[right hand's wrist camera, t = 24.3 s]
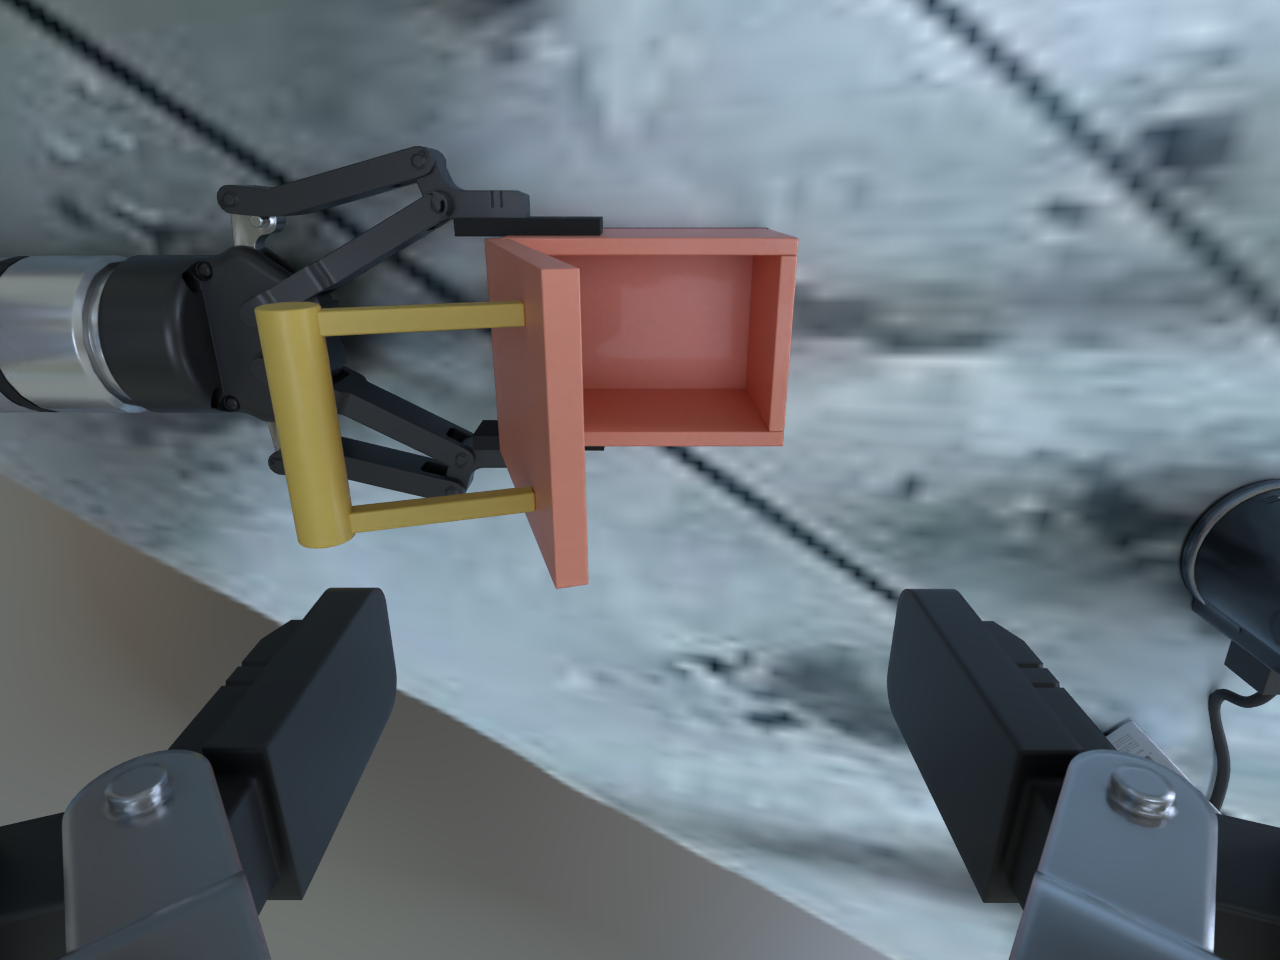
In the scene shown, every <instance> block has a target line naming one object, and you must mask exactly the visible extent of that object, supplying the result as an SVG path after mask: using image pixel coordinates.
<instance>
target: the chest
mask: <svg viewBox="0 0 1280 960" xmlns="http://www.w3.org/2000/svg"><path fill="white" fill-rule="evenodd" d="M502 238H508V239H511V240H513V241H516V242H518V243H520V244H523V245H525V246H527V247H530V248H532V249H534V250H537V251H539V252H541V253H544V254H546V255H549V256H551V257H553V258H556V259H558V260H560V261H563V262H565V263H567V264H570V265H572V266H574V267H577V268H579V270H580V304H581V339H582V374H583V409H584V444H585V446H783V439H784V432H783V431H784V425H785V412H786V398H787V385H788V372H789V359H790V346H791V332H792V319H793V306H794V293H795V280H796V266H797V256H796V255H797V253H798V238H796V237H793V236H789V235H786V234H783V233H779V232H776V231H773V230H769V229H768V228H603V233H602V234H601V235H600V236H505V237H502ZM500 239H501V238H500Z"/></svg>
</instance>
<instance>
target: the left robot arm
mask: <svg viewBox="0 0 1280 960" xmlns="http://www.w3.org/2000/svg"><path fill="white" fill-rule="evenodd" d="M414 183H417V184H418V186H419V188H420V191H421V193H422V195H423V197H422V198H420V199H419V200H417V201H415V202H414V203H412V204H410V205H409V206H407V207H405V208H404V209H402V210H400V211H399V212H397V213H396V214H394V215H392V216H391V217H389V218H387V219H386V220H384V221H382V222H381V223H379V224H377V225H376V226H374V227H373V228H371V229H369V230H368V231H366V232H364V233H363V234H361V235H359V236H358V237H356V238H354V239H353V240H351V241H350V242H348V243H346V244H345V245H343V246H341V247H340V248H338V249H336V250H335V251H333V252H331V253H330V254H328V255H327V256H325V257H323V258H322V259H320V260H318V261H316V262H314V263H312V264H310V265H308V266H306V267H304V268H302V269H301V270H299V269H297V268H296V267H294V266H293V265H291V264H290V263H288V262H287V261H285V260H284V259H282V258H281V257H279V256H278V255H276V254H275V253H273V252H272V251H271V250H269V249H267V248H266V247H265V240H266V238H267V237H268V236H269V235H270V234H273V233H279V232H280V231H282V230H283V229H284V227H285V221H286V219H285V216H292V215H303V214H308V213H312V212H316V211H319V210H323V209H326V208H330V207H333V206H337V205H340V204H344V203H347V202H351V201H354V200H358V199H361V198H365V197H368V196H372V195H375V194H379V193H382V192H386V191H389V190H393V189H396V188H400V187H403V186H407V185H410V184H414ZM217 200H218V203H219V205H220V207H221V208H222V209H223V210H224V211H226V212H228V213H231V221H232V232H233V242H234V247H231V248H229V249H228V250H226V251H225V252H223V253H221V254H219V255H137V256H133V257H130V258H126V257H123V256H120V255H33V256H18V257H0V412H108V413H141V412H144V411H148V410H150V411H153V412H162V413H229V412H241V413H246V414H249V415H252V416H254V417H256V418H258V419H260V420H263V421H266V422H267V423H268V426H269V430H270V433H271V436H272V440H273V443H274V447H275V450H276V452H275V453H273V454H272V455H271V456H270V457H269V460H268V465H269V467H270V469H271V470H272V471H273V472H275V473H277V474H280V475H285V469H284V464H283V459H282V453H281V448H280V443H279V437H278V432H277V427H276V422H275V416H274V411H273V406H272V400H271V395H270V390H269V385H268V379H267V374H266V369H265V363H264V358H263V353H262V348H261V342H260V337H259V332H258V326H257V321H256V316H255V308H256V307H258V306H261V305H266V304H273V303H283V302H312V303H317V304H319V305H320V306H321V308H339V306H338V301H333V299H332V297H331V295H330V293H332V292H334V291H335V290H337V289H339V288H340V287H342V286H344V285H345V284H347V283H349V282H350V281H351V280H352V279H354V278H355V277H357V276H359V275H360V274H362V273H364V272H365V271H367V270H369V269H370V268H372V267H374V266H375V265H377V264H379V263H380V262H382V261H384V260H385V259H387V258H389V257H390V256H392V255H394V254H395V253H397V252H399V251H400V250H402V249H404V248H405V247H407V246H409V245H410V244H412V243H414V242H415V241H417V240H419V239H420V238H422V237H424V236H425V235H427V234H429V233H430V232H432V231H434V230H435V229H437V228H439V227H440V226H442V225H444V224H446V223H447V222H449V221H451V220H452V219H454V229H455V236H600V235H601V234H602V233H603V217H530V201H529V195H527V194H525V193H523V192H520V191H467V190H463V189H460V188H459V187H457V186H456V185H455V184H454V183H453V181H452V179H451V177H450V175H449V172H448V170H447V168H446V159H445V158H444V156H443V154H442V153H441V152H439V151H437V150H435V149H431V148H426V147H421V146H414V147H411V148H407V149H404V150H400V151H397V152H393V153H390V154H387V155H383V156H380V157H376V158H373V159H369V160H366V161H362V162H359V163H356V164H352V165H349V166H345V167H342V168H338V169H335V170H331V171H328V172H325V173H321V174H318V175H314V176H311V177H307V178H304V179H300V180H297V181H294V182H290V183H287V184H283V185H280V186H276V187H266V186H256V185H225V186H223V187H221V188H220V189H219V191H218V193H217ZM325 337H326V344H327V350H328V357H329V363H330V369H331V376H332V382H333V389H334V395H335V402H336V408H337V414H342V415H344V416H347V417H349V418H351V419H353V420H355V421H357V422H359V423H361V424H363V425H365V426H367V427H370V428H372V429H374V430H376V431H378V432H380V433H382V434H384V435H386V436H388V437H390V438H392V439H395V440H397V441H399V442H401V443H403V444H405V445H407V446H409V447H411V448H413V449H415V450H417V451H420V452H422V453H424V454H426V455H428V456H430V457H432V458H429V457H425V456H421V455H416V454H412V453H408V452H404V451H400V450H395V449H391V448H387V447H383V446H379V445H374V444H370V443H366V442H362V441H358V440H353V439H349V438H345V437H341V440H342V446H343V453H344V459H345V466H346V472H347V478H348V480H353V481H357V482H361V483H365V484H370V485H374V486H378V487H383V488H387V489H391V490H395V491H400V492H404V493H408V494H413V495H417V496H421V497H426V498H430V497H439V496H448V495H457V494H465V493H466V491H467V489H468V488H469V486H470V484H471V483H472V480H473V475H474V472H475V470H476V469H479V468H507V467H506V464H505V462H504V459H503V457H502V454H501V452H500V442H499V429H498V420H483V421H482V423H481V424H480V425H479V427H478V428H477V430H476V431H475V433H474V434H473V433H471V432H469V431H467V430H465V429H463V428H461V427H459V426H457V425H455V424H453V423H451V422H449V421H447V420H445V419H443V418H441V417H439V416H437V415H435V414H433V413H431V412H429V411H427V410H424V409H422V408H420V407H418V406H416V405H414V404H412V403H410V402H408V401H406V400H404V399H402V398H400V397H398V396H396V395H394V394H392V393H390V392H388V391H386V390H384V389H382V388H380V387H378V386H376V385H374V384H372V383H370V382H368V381H367V380H366V379H365V377H364V376H363V375H361V374H359V373H357V372H355V371H353V370H351V369H349V368H347V367H345V366H343V364H345V363H347V361H346V354H345V348H344V345H343V343H342V340H341V338H340V336H325ZM585 450H599V451H604V446H585ZM433 458H434V459H433Z"/></svg>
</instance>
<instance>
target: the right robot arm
mask: <svg viewBox="0 0 1280 960" xmlns="http://www.w3.org/2000/svg"><path fill="white" fill-rule="evenodd" d="M1182 573H1183V578H1184V581H1185V584H1186V586H1187V588H1188V589H1189V591H1190V592H1191V594H1192V595H1193V596H1194V597H1195V599H1194V605H1193V611H1194V612H1195V613H1197V614H1198V615H1199V616H1201V617H1202V618H1203V619H1204V620H1206V621H1207V622H1208V623H1210V624H1211V625H1212V626H1214V627H1215V628H1216V629H1218V630H1219V631H1220V632H1222V633H1223V634H1224V635H1226V636H1227V637H1228V638H1230V639H1231V643H1230V647H1229V650H1228V653H1227V656H1226V660H1225V663H1224V665H1226V666H1227V667H1228V668H1229V669H1231V670H1232V671H1233V672H1234V673H1235V674H1237V675H1238V676H1239V677H1240V678H1242V679H1243V680H1244V681H1245V682H1247V683H1248V684H1249V685H1250V686H1252V687H1253V688H1254V689H1255V690H1256V691H1258V692H1257V693H1255V694H1253V695H1251V696H1248V697H1245V696H1241V695H1238V694H1236V693H1234V692H1232V691H1230V690H1227V689H1219V690H1216V691H1215V692H1214V693H1213V694H1212V695H1211V697H1210V698H1209V704H1208V709H1209V716H1210V723H1211V730H1212V734H1213V738H1214V742H1215V747H1216V752H1217V759H1218V769H1217V776H1216V781H1215V785H1214V789H1213V793H1212V796H1211V799H1210V802H1209V801H1208V800H1207V798H1206V797H1205V796H1204V795H1203V794H1202V793H1201V792H1200V791H1199V790H1198V789H1197V788H1196V787H1195V786H1194V785H1192V784H1191V783H1190V782H1189V781H1187V780H1186V779H1185V778H1183V777H1182V776H1180V775H1179V774H1177V773H1175V772H1174V771H1172V770H1170V769H1169V768H1167V767H1165V766H1163V765H1161V764H1159V763H1157V762H1154V761H1152V760H1149V759H1147V758H1144V757H1141V756H1138V755H1135V754H1131V753H1127V752H1122V751H1117V750H1116V749H1115V747H1114V746H1113V745H1112V744H1111V743H1110V741H1109V740H1108V739H1107V738H1106V737H1105V736H1104V734H1103V733H1102V732H1101V731H1100V730H1099V729H1098V727H1097V726H1096V725H1095V724H1094V723H1093V722H1092V720H1091V719H1090V718H1089V717H1088V716H1087V715H1086V713H1085V712H1084V711H1083V710H1082V709H1081V708H1080V706H1079V705H1078V704H1077V703H1076V702H1075V700H1074V699H1073V698H1072V697H1071V696H1070V695H1069V693H1068V692H1067V691H1066V690H1065V689H1064V688H1060V686H1059V682H1058V681H1057V679H1056V678H1055V677H1054V676H1053V675H1052V674H1051V672H1050V671H1049V670H1048V669H1047V668H1043V663H1042V662H1041V661H1040V660H1039V658H1038V657H1037V656H1036V655H1035V654H1034V652H1033V651H1032V650H1031V649H1030V648H1029V647H1028V645H1027V644H1026V643H1025V642H1024V641H1023V640H1022V639H1020V638H1018V637H1017V636H1015V635H1014V634H1012V633H1011V632H1009V631H1007V630H1006V629H1004V628H1003V627H1001V626H1000V625H998V624H997V623H995V622H993V621H982V620H981V619H980V618H979V617H978V615H977V614H976V613H975V612H974V610H973V609H972V608H971V607H970V605H969V604H968V603H967V602H966V600H965V599H964V598H963V597H962V595H961V594H960V593H959V592H958V591H957V590H955V589H905V590H903V591H902V593H901V595H900V597H899V600H898V605H897V612H896V619H895V626H894V632H893V639H892V646H891V653H890V660H889V666H888V674H887V690H888V699H889V704H890V708H891V711H892V714H893V716H894V718H895V721H896V723H897V725H898V727H899V729H900V731H901V733H902V735H903V737H904V739H905V741H906V743H907V745H908V747H909V750H910V752H911V754H912V756H913V758H914V760H915V762H916V764H917V766H918V768H919V770H920V772H921V774H922V776H923V779H924V781H925V783H926V785H927V787H928V789H929V791H930V793H931V795H932V797H933V799H934V801H935V803H936V805H937V808H938V810H939V812H940V814H941V816H942V818H943V820H944V822H945V824H946V826H947V828H948V830H949V832H950V834H951V836H952V839H953V841H954V843H955V845H956V847H957V849H958V851H959V853H960V855H961V857H962V859H963V861H964V863H965V865H966V868H967V870H968V872H969V874H970V876H971V878H972V880H973V882H974V884H975V886H976V888H977V890H978V892H979V894H980V897H981V899H982V901H983V903H1019V904H1020V905H1021V907H1022V909H1023V914H1022V917H1021V921H1020V924H1019V927H1018V931H1017V934H1016V937H1015V940H1014V944H1013V947H1012V950H1011V954H1010V957H1009V960H1280V828H1278V827H1274V826H1270V825H1265V824H1261V823H1256V822H1252V821H1247V820H1243V819H1239V818H1234V817H1230V816H1225V815H1222V814H1218V813H1215V811H1214V808H1213V807H1212V805H1213V806H1214V807H1215V808H1216V809H1217V810H1218V811H1220V809H1221V806H1222V804H1223V801H1224V798H1225V794H1226V791H1227V787H1228V783H1229V778H1230V757H1229V751H1228V746H1227V742H1226V738H1225V734H1224V730H1223V726H1222V722H1221V716H1220V707H1221V704H1222V702H1223V701H1224V700H1227V701H1229V702H1231V703H1233V704H1236V705H1238V706H1240V707H1244V708H1252V707H1256V706H1260V705H1262V704H1265V703H1266V702H1268V701H1270V700H1271V699H1272V698H1274V697H1275V696H1276V695H1280V479H1278V480H1269V481H1263V482H1259V483H1255V484H1252V485H1249V486H1246V487H1244V488H1242V489H1239V490H1237V491H1235V492H1234V493H1232V494H1230V495H1228V496H1227V497H1225V498H1224V499H1222V500H1221V501H1219V502H1218V503H1217V504H1216V505H1214V506H1213V507H1212V508H1211V509H1210V510H1209V511H1208V512H1207V513H1206V514H1205V515H1204V516H1203V517H1202V518H1201V519H1200V521H1199V522H1198V523H1197V525H1196V526H1195V528H1194V529H1193V531H1192V532H1191V534H1190V536H1189V538H1188V540H1187V543H1186V545H1185V549H1184V552H1183V557H1182ZM396 684H397V677H396V667H395V660H394V653H393V646H392V639H391V632H390V626H389V619H388V612H387V605H386V600H385V596H384V594H383V592H382V590H381V589H380V588H329V589H327V590H326V591H325V592H324V593H323V594H322V596H321V597H320V598H319V599H318V601H317V602H316V603H315V605H314V606H313V607H312V608H311V610H310V611H309V612H308V613H307V615H306V616H305V617H304V619H303V620H290V621H289V622H287V623H286V624H284V625H283V626H281V627H280V628H278V629H276V630H275V631H273V632H272V633H270V634H269V635H267V636H266V637H264V638H262V639H261V640H260V641H259V643H258V644H257V645H256V646H255V647H254V648H253V650H252V651H251V652H250V653H249V654H248V655H247V657H246V658H245V659H244V660H243V661H242V666H241V667H237V669H236V670H235V671H234V672H233V673H232V674H231V676H230V677H229V678H228V679H227V680H226V685H225V686H221V687H220V689H219V690H218V691H217V692H216V693H215V695H214V696H213V697H212V698H211V699H210V700H209V702H208V703H207V704H206V705H205V706H204V708H203V709H202V710H201V711H200V712H199V713H198V715H197V716H196V717H195V718H194V719H193V721H192V722H191V723H190V724H189V725H188V727H187V728H186V729H185V730H184V731H183V732H182V734H181V735H180V736H179V737H178V738H177V739H176V741H175V742H174V743H173V744H172V745H171V747H170V748H169V749H168V750H164V751H158V752H153V753H149V754H145V755H142V756H139V757H136V758H133V759H131V760H128V761H126V762H123V763H121V764H119V765H117V766H115V767H113V768H111V769H110V770H108V771H106V772H105V773H103V774H101V775H100V776H98V777H97V778H96V779H94V780H93V781H91V782H90V783H89V784H88V785H86V786H85V787H84V788H83V789H82V790H81V791H80V792H79V793H78V794H77V795H76V796H75V797H74V798H73V800H72V801H71V802H70V804H69V805H68V807H67V809H66V811H65V812H63V813H58V814H54V815H50V816H45V817H41V818H36V819H32V820H27V821H23V822H19V823H14V824H10V825H5V826H1V827H0V960H271V957H270V954H269V950H268V947H267V944H266V941H265V937H264V934H263V931H262V927H261V924H260V921H259V917H258V916H259V914H260V912H261V910H262V908H263V906H264V904H265V902H266V900H302V899H303V897H304V895H305V893H306V890H307V888H308V886H309V884H310V882H311V880H312V878H313V876H314V874H315V872H316V870H317V867H318V865H319V863H320V861H321V859H322V857H323V855H324V853H325V851H326V849H327V846H328V844H329V842H330V840H331V838H332V836H333V834H334V832H335V830H336V827H337V826H338V823H339V821H340V819H341V817H342V815H343V813H344V811H345V809H346V807H347V805H348V802H349V800H350V798H351V796H352V794H353V792H354V790H355V788H356V786H357V784H358V781H359V779H360V777H361V775H362V773H363V771H364V769H365V767H366V765H367V763H368V761H369V758H370V756H371V754H372V752H373V750H374V748H375V746H376V744H377V742H378V740H379V738H380V735H381V733H382V731H383V729H384V727H385V725H386V723H387V721H388V719H389V717H390V714H391V712H392V709H393V705H394V701H395V695H396ZM1210 803H1211V804H1212V805H1211V804H1210Z"/></svg>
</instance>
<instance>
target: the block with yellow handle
mask: <svg viewBox="0 0 1280 960" xmlns="http://www.w3.org/2000/svg"><path fill="white" fill-rule="evenodd" d="M485 251H486V265H487V279H488V292H489V302H468V303H443V304H419V305H394V306H370V307H345V308H321V306H320V305H319V304H317V303H312V302H283V303H273V304H266V305H261V306H258V307H256V308H255V316H256V321H257V326H258V332H259V337H260V342H261V348H262V353H263V358H264V363H265V369H266V374H267V379H268V385H269V390H270V395H271V400H272V406H273V411H274V416H275V422H276V427H277V432H278V437H279V443H280V448H281V453H282V459H283V464H284V469H285V475H286V480H287V485H288V490H289V496H290V501H291V506H292V512H293V517H294V522H295V527H296V533H297V538H298V542H299V543H300V544H301V545H302V546H304V547H307V548H327V547H333V546H337V545H340V544H343V543H345V542H347V541H349V540H350V539H352V538H353V537H354V535H355V533H358V532H367V531H375V530H383V529H391V528H400V527H408V526H416V525H425V524H433V523H441V522H450V521H458V520H466V519H474V518H483V517H491V516H499V515H508V514H516V513H524V512H525V513H526V516H527V518H528V521H529V523H530V526H531V528H532V531H533V533H534V536H535V538H536V541H537V543H538V546H539V548H540V551H541V553H542V556H543V558H544V560H545V563H546V565H547V568H548V570H549V573H550V575H551V578H552V580H553V583H554V585H555V588H556V589H559V588H566V587H572V586H579V585H586V584H588V548H587V513H586V479H585V444H584V409H583V374H582V339H581V304H580V270H579V268H577V267H574V266H572V265H570V264H567V263H565V262H563V261H560V260H558V259H556V258H553V257H551V256H549V255H546V254H544V253H541V252H539V251H537V250H534V249H532V248H530V247H527V246H525V245H523V244H520V243H518V242H516V241H513V240H511V239H508V238H501V239H485ZM479 328H491V333H492V347H493V360H494V374H495V388H496V401H497V415H498V429H499V442H500V452H501V454H502V457H503V459H504V462H505V464H506V467H507V469H508V471H509V474H510V476H511V479H512V481H513V484H514V486H515V488H511V489H502V490H493V491H484V492H475V493H466V494H457V495H448V496H439V497H430V498H421V499H412V500H403V501H394V502H385V503H376V504H367V505H358V506H352V504H351V498H350V491H349V485H348V478H347V472H346V466H345V459H344V453H343V446H342V440H341V434H340V427H339V421H338V414H337V408H336V402H335V395H334V389H333V382H332V376H331V369H330V363H329V357H328V350H327V344H326V337H325V336H341V335H360V334H380V333H400V332H420V331H440V330H459V329H479Z"/></svg>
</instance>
